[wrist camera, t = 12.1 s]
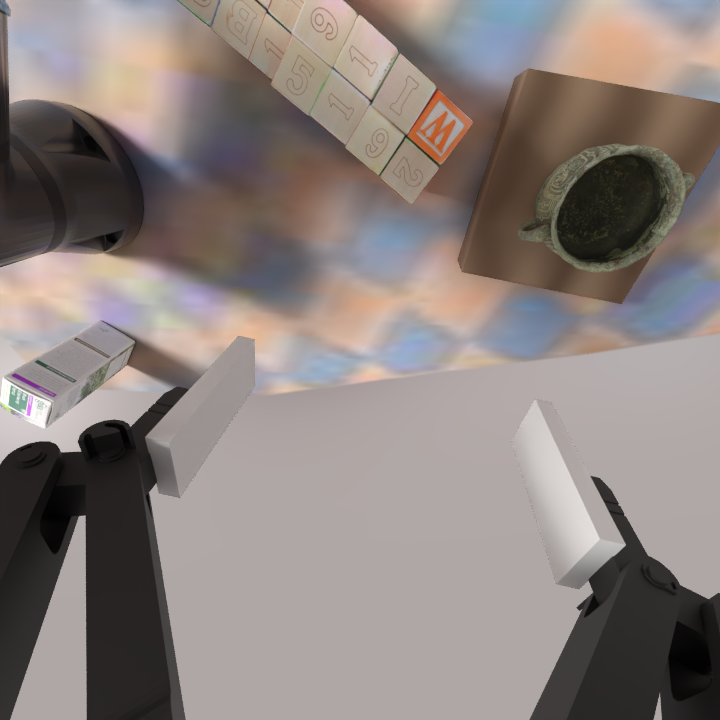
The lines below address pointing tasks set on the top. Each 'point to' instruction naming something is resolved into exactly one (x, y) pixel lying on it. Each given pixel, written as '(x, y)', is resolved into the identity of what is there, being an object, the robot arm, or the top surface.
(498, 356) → the top surface
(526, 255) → the walnut block
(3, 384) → the syrup box
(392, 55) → the stack of blocks
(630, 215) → the vessel
